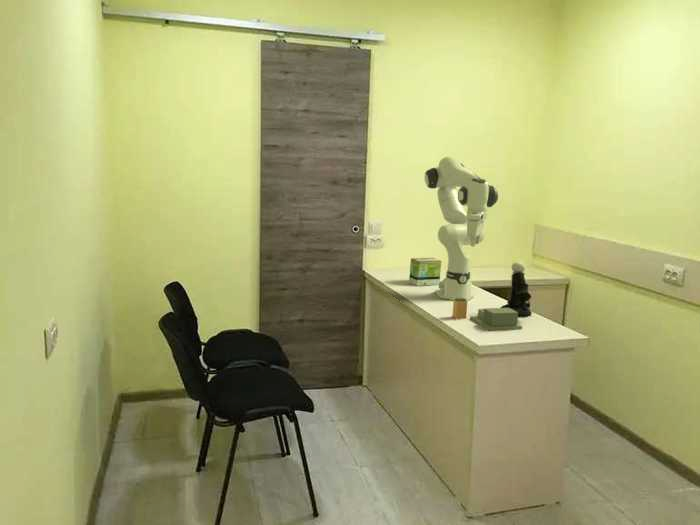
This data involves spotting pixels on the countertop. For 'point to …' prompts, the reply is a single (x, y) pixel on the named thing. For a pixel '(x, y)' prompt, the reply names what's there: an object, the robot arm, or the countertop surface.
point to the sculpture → (519, 291)
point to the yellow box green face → (459, 308)
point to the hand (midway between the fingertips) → (474, 245)
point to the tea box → (425, 271)
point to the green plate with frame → (497, 318)
